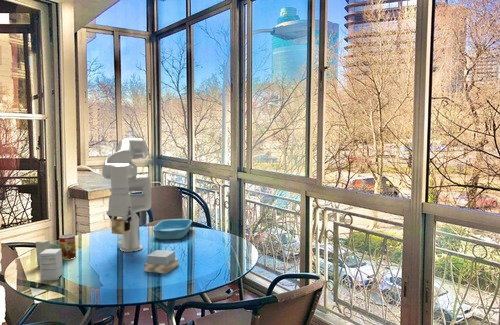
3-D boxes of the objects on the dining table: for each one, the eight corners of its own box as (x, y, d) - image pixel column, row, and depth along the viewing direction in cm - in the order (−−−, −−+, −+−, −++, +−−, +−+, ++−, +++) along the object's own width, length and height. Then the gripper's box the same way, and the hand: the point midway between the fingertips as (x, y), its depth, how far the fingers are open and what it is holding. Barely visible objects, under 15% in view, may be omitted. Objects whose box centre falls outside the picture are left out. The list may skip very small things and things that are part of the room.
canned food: (69, 260, 209) (68, 238, 208) (56, 259, 211) (55, 237, 210) (79, 256, 217) (78, 234, 216) (66, 255, 218) (65, 233, 218)
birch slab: (144, 272, 192) (144, 264, 192) (157, 264, 203) (157, 256, 203) (166, 274, 188) (166, 266, 188) (178, 266, 200) (178, 258, 199)
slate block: (147, 263, 192) (146, 255, 192) (156, 257, 202) (156, 249, 201) (166, 265, 189) (166, 257, 189) (175, 258, 199) (175, 251, 199)
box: (51, 265, 202) (50, 240, 202) (44, 267, 198) (43, 242, 197) (43, 264, 204) (42, 239, 203) (36, 266, 200) (35, 241, 199)
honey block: (111, 233, 184) (111, 220, 184) (120, 230, 190) (119, 217, 190) (122, 234, 182) (122, 221, 182) (130, 231, 188) (130, 218, 188)
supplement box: (47, 275, 188) (45, 248, 187) (63, 274, 188) (62, 248, 188) (40, 280, 180) (38, 253, 180) (57, 280, 181) (55, 252, 180)
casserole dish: (162, 228, 281) (162, 218, 281) (194, 227, 281) (194, 217, 281) (149, 242, 244) (148, 230, 244) (185, 241, 244) (185, 230, 244)
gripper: (99, 192, 184) (100, 230, 185) (130, 193, 178) (132, 233, 180) (109, 189, 191) (111, 226, 193) (140, 191, 185) (141, 229, 187)
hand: (121, 229), depth 186 cm, fingers closed on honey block, 6 cm apart
